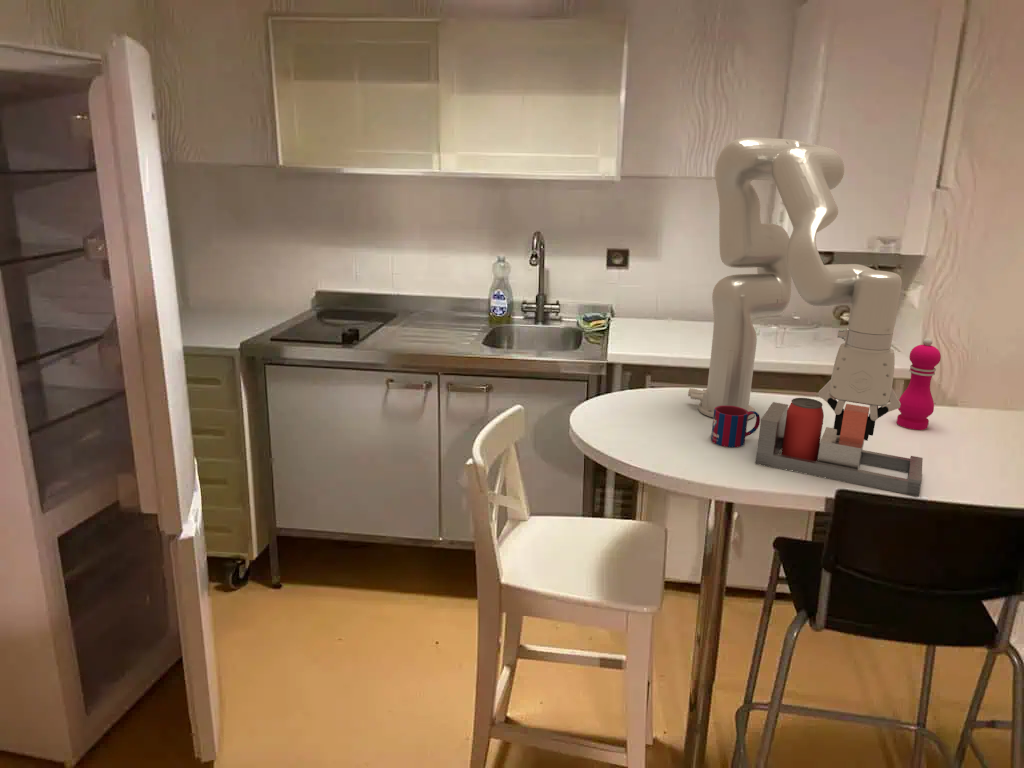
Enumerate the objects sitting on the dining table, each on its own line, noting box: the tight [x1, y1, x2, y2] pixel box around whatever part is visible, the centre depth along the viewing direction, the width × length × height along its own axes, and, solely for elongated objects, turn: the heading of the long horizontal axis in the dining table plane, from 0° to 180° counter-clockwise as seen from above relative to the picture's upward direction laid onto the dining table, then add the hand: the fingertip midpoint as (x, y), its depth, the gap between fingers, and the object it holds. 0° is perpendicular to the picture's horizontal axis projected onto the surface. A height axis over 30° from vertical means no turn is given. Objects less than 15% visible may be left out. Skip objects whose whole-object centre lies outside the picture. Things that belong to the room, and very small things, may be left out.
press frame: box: [754, 401, 924, 497], centre depth 144 cm, size 28×12×9 cm, turn 62°
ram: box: [817, 403, 870, 470], centre depth 144 cm, size 7×9×12 cm
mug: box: [710, 405, 761, 448], centre depth 157 cm, size 7×10×7 cm
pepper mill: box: [896, 337, 941, 431], centre depth 168 cm, size 7×7×20 cm
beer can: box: [780, 397, 825, 461], centre depth 147 cm, size 7×7×12 cm
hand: (852, 434), depth 143 cm, fingers closed on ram, 4 cm apart
